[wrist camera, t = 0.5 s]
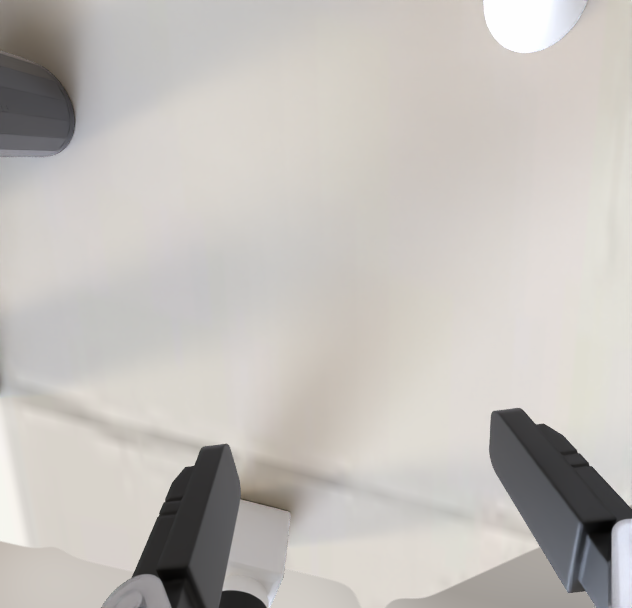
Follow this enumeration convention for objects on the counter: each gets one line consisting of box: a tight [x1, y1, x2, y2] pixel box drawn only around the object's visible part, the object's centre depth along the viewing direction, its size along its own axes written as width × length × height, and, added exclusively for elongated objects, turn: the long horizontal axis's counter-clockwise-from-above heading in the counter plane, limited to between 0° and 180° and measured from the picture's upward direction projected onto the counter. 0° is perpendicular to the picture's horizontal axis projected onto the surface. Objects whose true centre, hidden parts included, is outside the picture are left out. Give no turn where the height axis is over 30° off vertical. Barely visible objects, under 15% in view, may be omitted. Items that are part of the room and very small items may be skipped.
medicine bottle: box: [219, 499, 291, 608], centre depth 37 cm, size 7×7×12 cm
